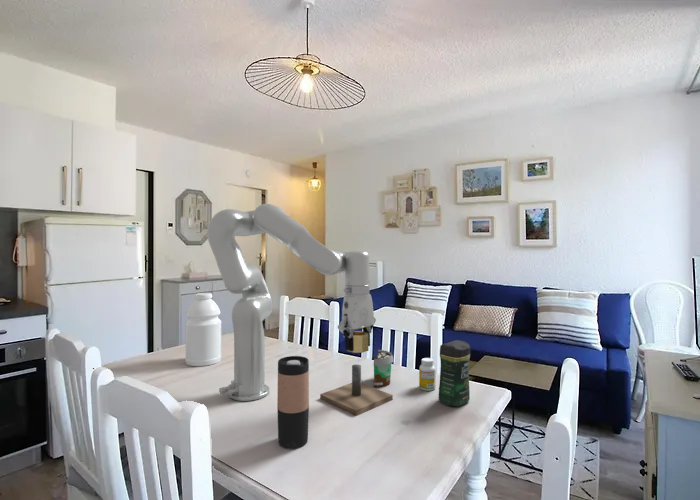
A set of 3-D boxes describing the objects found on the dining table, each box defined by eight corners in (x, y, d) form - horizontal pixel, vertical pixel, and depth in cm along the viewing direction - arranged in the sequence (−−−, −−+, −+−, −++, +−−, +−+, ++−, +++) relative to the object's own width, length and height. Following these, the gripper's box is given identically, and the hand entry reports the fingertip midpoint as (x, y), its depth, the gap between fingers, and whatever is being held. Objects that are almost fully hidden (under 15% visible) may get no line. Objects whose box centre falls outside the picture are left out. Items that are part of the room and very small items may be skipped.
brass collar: (357, 353, 112) (357, 337, 112) (342, 349, 117) (342, 333, 117) (372, 349, 117) (372, 333, 117) (357, 345, 122) (357, 330, 121)
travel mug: (279, 434, 95) (279, 356, 95) (309, 432, 96) (309, 355, 96) (275, 450, 88) (275, 365, 88) (308, 449, 88) (308, 365, 88)
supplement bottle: (423, 383, 130) (423, 356, 130) (438, 387, 127) (438, 358, 127) (416, 388, 126) (416, 360, 126) (431, 392, 123) (431, 363, 123)
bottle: (208, 354, 164) (208, 290, 164) (228, 360, 156) (228, 293, 156) (178, 362, 153) (178, 294, 152) (197, 369, 144) (197, 297, 144)
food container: (391, 390, 124) (391, 360, 124) (373, 388, 126) (373, 359, 126) (394, 377, 137) (395, 350, 136) (378, 376, 138) (378, 349, 138)
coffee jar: (457, 410, 110) (457, 347, 110) (434, 401, 116) (435, 341, 115) (474, 401, 116) (474, 341, 116) (451, 393, 122) (452, 336, 122)
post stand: (356, 415, 106) (356, 378, 106) (320, 398, 117) (320, 365, 117) (392, 399, 117) (392, 366, 117) (356, 385, 128) (356, 355, 128)
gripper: (345, 294, 108) (345, 356, 108) (384, 289, 120) (385, 344, 120) (328, 292, 113) (328, 351, 114) (367, 287, 125) (367, 340, 126)
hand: (357, 347), depth 117 cm, fingers closed on brass collar, 6 cm apart
